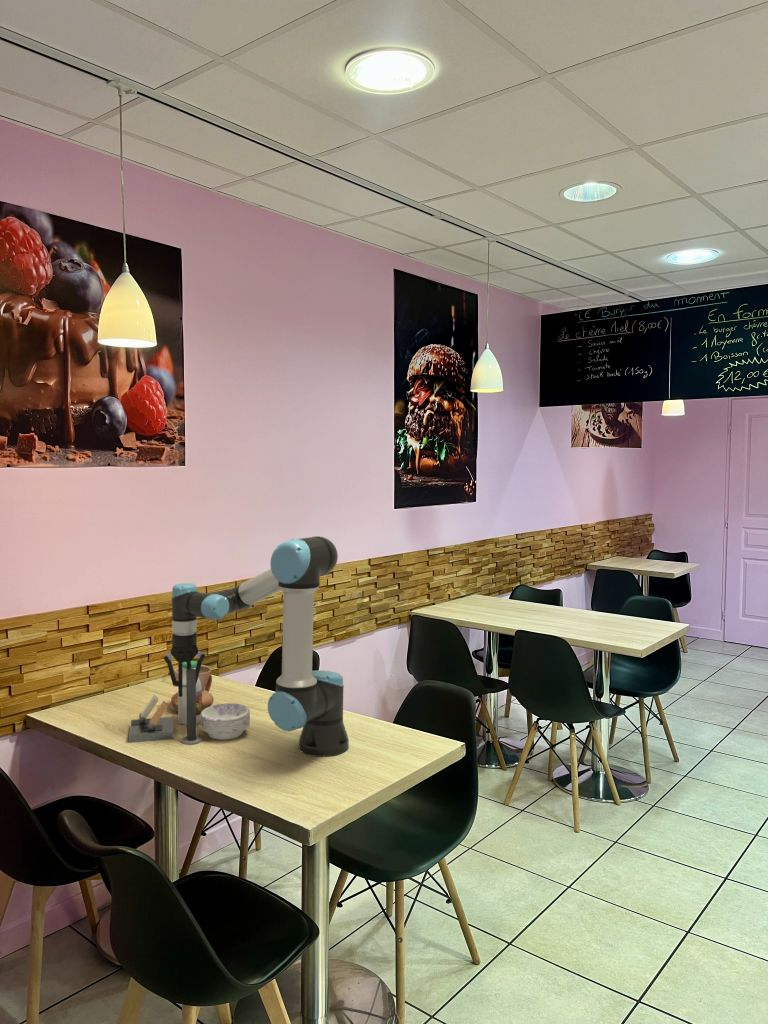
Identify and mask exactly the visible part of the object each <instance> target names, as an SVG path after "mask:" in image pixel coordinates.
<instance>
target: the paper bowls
mask: <svg viewBox="0 0 768 1024" xmlns="http://www.w3.org/2000/svg"><path fill="white" fill-rule="evenodd" d="M250 712H251V711H250V708H249V707H248V706H247V705H244V704H242V703H241V704H240V703H233V702H231V703H217V704H212V705H211V706H210V707H207V708H205V709H204V710H202V712H201V722H200V729H201V730H202V731H204V732H206V733H207V735H208V736H209V737H210V738H211V739H212V740H213V739H214V740H220V741H228V740H232V739H236V738H238V737H240V736H241V735H242V734H243V733H244V730H246V729H247V728H249V727H250V726H251V725H250V724H251V714H250Z"/></svg>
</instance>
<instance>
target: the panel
mask: <svg viewBox="0 0 768 1024" xmlns="http://www.w3.org/2000/svg"><path fill="white" fill-rule="evenodd" d="M151 718H152V717H151ZM151 718H146V719H145V722H144V723H140V722H139V718H138V719H131V721H130V726H129V727H130V728H129V733H128V741H129V742H128V743H140V742H152V741H153V742H154V741H164V740H166V741H167V740H173V739H174V716H164V717H162V716H161V718H160V719H159V721H158V722H157V724H156V725H155V728H154V729H153V730H149V729H148V721H149V720H150V719H151Z"/></svg>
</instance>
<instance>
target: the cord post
mask: <svg viewBox="0 0 768 1024" xmlns="http://www.w3.org/2000/svg"><path fill="white" fill-rule="evenodd" d="M186 691H187V725H186V737H183V738H181V743H182V744H183V745H187V746H191V745H192V746H193V745H197V744H199V743H201V742H202V740H203V739H202V737H201V736H199V735H197V724H196V670H195V669H188V670H186Z"/></svg>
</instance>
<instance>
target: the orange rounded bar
mask: <svg viewBox="0 0 768 1024" xmlns="http://www.w3.org/2000/svg"><path fill="white" fill-rule="evenodd" d="M168 705H169V704H168V702H166V701H164V700H163V701H162V702H161V704H160V705H159V707H158V708H157V709H156V711H155V713H154V714H153V715H152V717H151V719H150V718H149V719H150V720H149V721H148V729H149V730H153V729H154V728H155V725H156V724H157V722H158V721H159V719H160V718H162V716H163V715H164V713H165V711H167V709H168V707H169V706H168Z"/></svg>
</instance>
